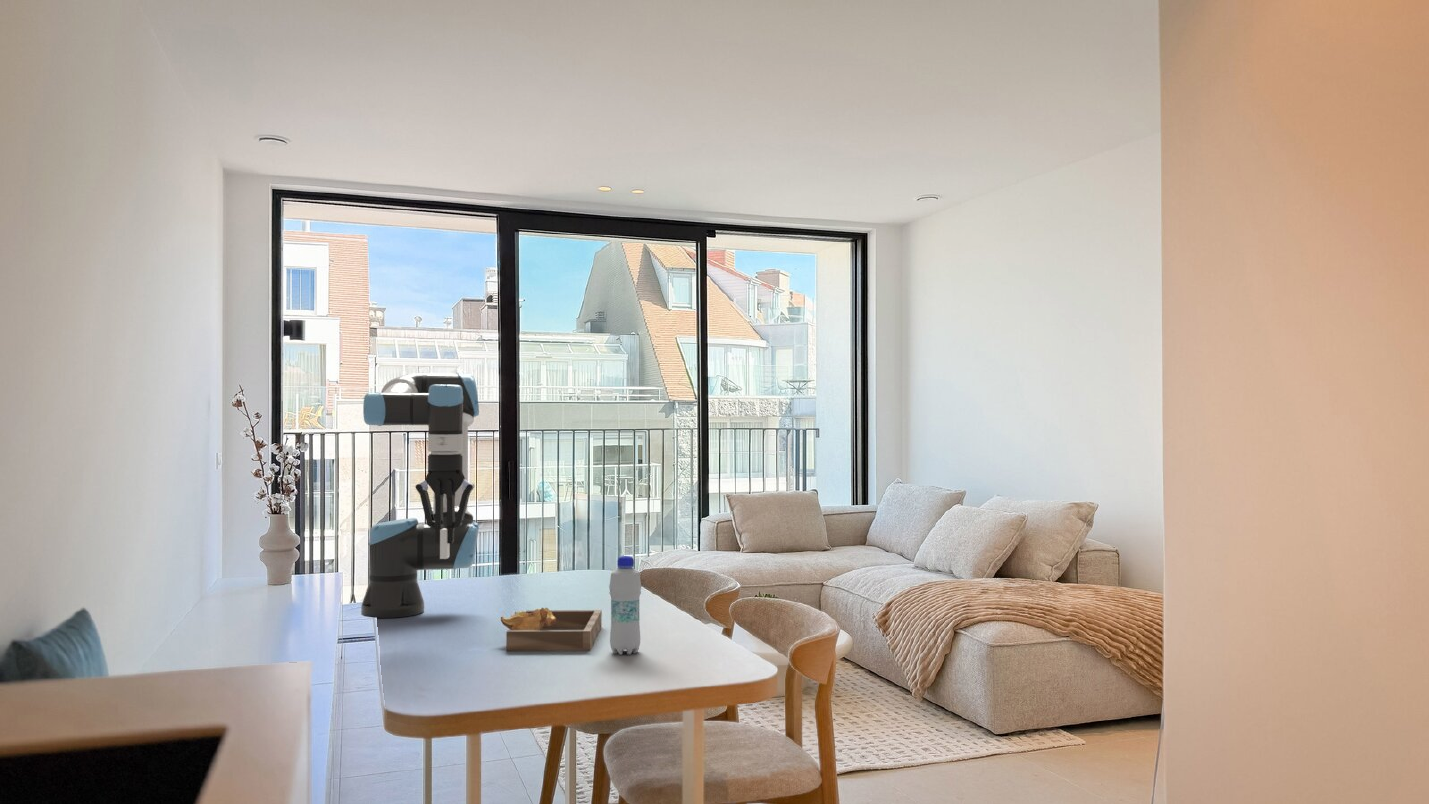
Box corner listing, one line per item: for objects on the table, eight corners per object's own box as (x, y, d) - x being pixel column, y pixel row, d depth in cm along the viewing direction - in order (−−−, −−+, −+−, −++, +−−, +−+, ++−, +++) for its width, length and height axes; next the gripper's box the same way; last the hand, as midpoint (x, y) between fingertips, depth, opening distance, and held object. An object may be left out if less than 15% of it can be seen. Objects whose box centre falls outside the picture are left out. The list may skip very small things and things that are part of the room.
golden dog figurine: (551, 637, 219) (551, 599, 219) (563, 645, 210) (563, 606, 210) (497, 642, 214) (497, 603, 214) (507, 651, 205) (507, 611, 205)
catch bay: (526, 627, 229) (526, 610, 229) (601, 627, 229) (601, 610, 229) (506, 650, 205) (506, 631, 205) (590, 650, 205) (590, 631, 205)
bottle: (646, 650, 205) (646, 554, 206) (633, 657, 199) (633, 558, 200) (617, 647, 208) (617, 553, 208) (603, 654, 201) (603, 557, 202)
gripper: (411, 453, 216) (410, 560, 216) (471, 454, 217) (470, 560, 217) (420, 451, 224) (419, 555, 224) (477, 452, 224) (477, 555, 224)
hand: (444, 557), depth 220 cm, fingers closed
